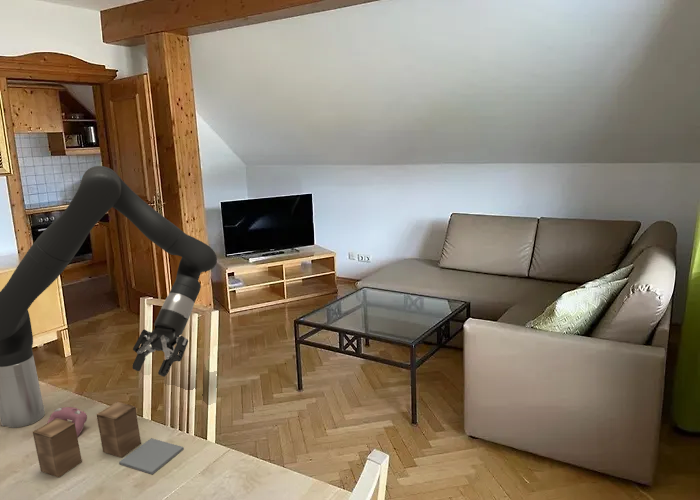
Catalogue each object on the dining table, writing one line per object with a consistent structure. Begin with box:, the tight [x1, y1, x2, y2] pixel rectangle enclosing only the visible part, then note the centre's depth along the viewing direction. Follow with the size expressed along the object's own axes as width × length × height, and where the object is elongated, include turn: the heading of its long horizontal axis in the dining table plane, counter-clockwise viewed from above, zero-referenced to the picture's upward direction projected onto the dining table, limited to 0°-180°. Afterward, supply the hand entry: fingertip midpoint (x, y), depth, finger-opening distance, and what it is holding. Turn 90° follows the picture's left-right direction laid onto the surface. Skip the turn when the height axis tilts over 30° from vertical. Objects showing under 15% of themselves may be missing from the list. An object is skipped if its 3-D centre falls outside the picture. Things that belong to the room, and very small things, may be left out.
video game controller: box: [46, 406, 88, 438], centre depth 139 cm, size 10×5×7 cm, turn 75°
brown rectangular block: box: [96, 401, 142, 459], centre depth 130 cm, size 6×6×10 cm
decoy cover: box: [32, 418, 83, 478], centre depth 124 cm, size 6×6×10 cm
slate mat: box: [118, 437, 184, 476], centre depth 127 cm, size 10×10×1 cm
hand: (148, 372), depth 138 cm, fingers open, 8 cm apart
